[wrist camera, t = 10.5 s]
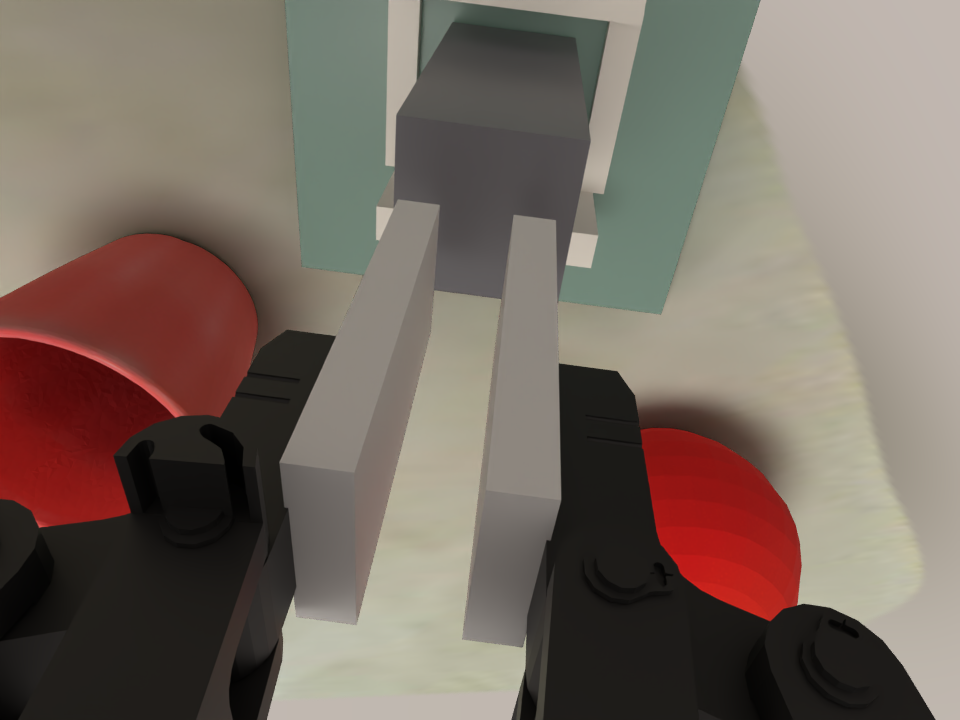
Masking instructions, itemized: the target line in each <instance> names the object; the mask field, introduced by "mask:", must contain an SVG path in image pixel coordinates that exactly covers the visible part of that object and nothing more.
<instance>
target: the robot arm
mask: <svg viewBox="0 0 960 720" xmlns="http://www.w3.org/2000/svg"><path fill="white" fill-rule="evenodd" d="M439 212H440V205H437V204H429V203H421V202H414V201H406V200H399V199H398V200H397V203H396V205H395V207H394V209H393V211H392V214H391V216H390V218H389V220H388V223H387V225H386V227H385V229H384V231H383V234H382V236H381V238H380V240H379V243H378V245H377V247H376V249H375V251H374V254H373V256H372V258H371V260H370V263H369V265H368V267H367V269H366V271H365V274H364V276H363V278H362V280H361V283H360V285H359V287H358V289H357V291H356V294H355V296H354V298H353V300H352V303H351V305H350V307H349V309H348V311H347V314H346V316H345V318H344V320H343V323H342V325H341V327H340V329H339V331H338V334H337V336H330V335H323V334H315V333H308V332H300V331H293V330H286V331H285V332H283V333H282V334H281V335H279V336H278V337H276V338H275V339H273V340H272V341H271V342H269V343H268V344H266V345H265V346H264V347H262V348H261V349H260V351H259V353H258V354H257V356H256V358H255V360H254V361H253V363H252V365H251V366H250V368H249V370H248V371H247V376H246V377H244V378H243V380H242V381H241V383H240V385H239V386H238V388H237V390H236V391H235V397H232V398H231V400H230V402H229V403H228V405H227V407H226V408H225V410H224V412H223V413H222V415H221V417H216V416H211V415H191V416H179V417H176V418H172V419H169V420H165V421H162V422H158V423H155V424H153V425H151V426H149V427H147V428H146V429H144V430H142V431H140V432H139V433H137V434H135V435H133V436H132V437H130V438H129V439H128V440H127V441H126V442H125V443H124V444H123V445H122V446H121V448H120V449H119V450H118V451H117V452H116V453H115V454H114V455H113V457H114V460H115V464H116V467H117V470H118V473H119V476H120V479H121V483H122V486H123V489H124V492H125V495H126V498H127V501H128V505H129V508H130V511H131V513H128V514H126V515H121V516H117V517H112V518H107V519H102V520H94V521H86V522H79V523H71V524H63V525H55V526H48V527H40V528H39V526H38V524H37V522H36V520H35V518H34V515H33V513H32V511H31V510H29V509H28V508H26V507H24V506H22V505H21V504H19V503H17V502H16V501H14V500H6V499H0V720H267V716H268V712H269V709H270V705H271V701H272V697H273V693H274V689H275V686H276V682H277V678H278V674H279V670H280V666H281V663H282V654H283V636H282V627H283V624H284V621H285V618H286V615H287V613H288V610H289V607H290V604H291V601H292V598H293V595H294V602H295V611H296V617H301V618H309V619H316V620H323V621H331V622H338V623H346V624H353V625H357V621H358V617H359V613H360V609H361V605H362V601H363V597H364V593H365V589H366V585H367V581H368V577H369V573H370V569H371V565H372V562H373V558H374V554H375V550H376V546H377V542H378V538H379V534H380V530H381V526H382V522H383V518H384V514H385V510H386V506H387V502H388V498H389V494H390V490H391V486H392V483H393V479H394V475H395V471H396V467H397V463H398V459H399V455H400V451H401V447H402V443H403V439H404V435H405V431H406V427H407V423H408V419H409V415H410V411H411V407H412V404H413V400H414V396H415V392H416V388H417V384H418V380H419V376H420V372H421V368H422V364H423V360H424V356H425V352H426V348H427V344H428V340H429V336H430V332H431V323H432V309H433V296H434V282H435V268H436V254H437V240H438V226H439ZM638 425H639V418H638V412H637V406H636V400H635V395H634V394H633V392H632V391H631V390H630V388H629V387H628V386H627V384H626V383H625V381H624V380H623V379H622V377H621V376H620V374H619V373H618V372H617V371H611V370H603V369H596V368H588V367H581V366H573V365H566V364H559V358H558V305H557V252H556V220H550V219H543V218H535V217H528V216H520V215H514V216H513V223H512V230H511V237H510V244H509V251H508V258H507V265H506V272H505V279H504V286H503V293H502V300H501V307H500V314H499V321H498V328H497V335H496V342H495V351H494V360H493V369H492V378H491V387H490V396H489V405H488V414H487V423H486V432H485V440H484V449H483V458H482V467H481V476H480V485H479V494H478V503H477V512H476V521H475V530H474V539H473V547H472V556H471V565H470V574H469V583H468V592H467V601H466V610H465V619H464V628H463V637H462V639H464V640H472V641H479V642H486V643H494V644H501V645H509V646H516V647H523V644H524V640H525V637H526V633H527V637H526V669H525V672H524V676H523V680H522V683H521V687H520V691H519V695H518V698H517V701H516V705H515V709H514V713H513V716H512V720H935V718H934V716H933V715H932V713H931V711H930V710H929V708H928V707H927V705H926V703H925V702H924V700H923V698H922V697H921V695H920V693H919V692H918V690H917V689H916V687H915V685H914V683H913V682H912V680H911V678H910V677H909V675H908V674H907V672H906V670H905V669H904V667H903V665H902V664H901V663H900V662H899V660H898V659H897V658H896V656H895V655H894V654H893V653H892V651H891V650H890V649H889V648H888V646H887V645H886V644H885V643H884V642H883V640H881V639H880V638H879V637H878V636H876V635H875V634H874V633H873V632H871V631H870V630H869V629H868V628H866V627H865V626H864V625H862V624H861V623H860V622H859V621H857V620H855V619H853V618H851V617H849V616H847V615H844V614H842V613H840V612H838V611H836V610H834V609H831V608H828V607H821V606H815V605H809V604H801V605H797V606H793V607H789V608H784V609H782V610H781V611H780V612H779V613H778V614H777V615H776V616H775V617H774V618H773V619H772V620H771V621H768V620H766V619H764V618H761V617H759V616H757V615H754V614H752V613H750V612H747V611H745V610H742V609H740V608H738V607H735V606H733V605H731V604H728V603H726V602H724V601H721V600H719V599H717V598H715V597H713V596H711V595H710V594H708V593H706V592H704V591H702V590H700V589H699V588H698V587H696V586H695V585H694V584H692V583H691V582H690V581H689V580H687V579H686V578H685V577H683V575H682V574H681V573H680V571H679V568H678V565H677V564H676V563H675V561H674V560H673V559H672V558H671V556H670V555H669V554H668V553H667V551H666V550H665V549H664V547H663V546H661V544H660V541H659V538H658V534H657V530H656V524H655V518H654V512H653V505H652V499H651V493H650V487H649V481H648V474H647V468H646V462H645V456H644V449H642V444H643V443H642V437H641V431H640V427H638Z"/></svg>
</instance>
